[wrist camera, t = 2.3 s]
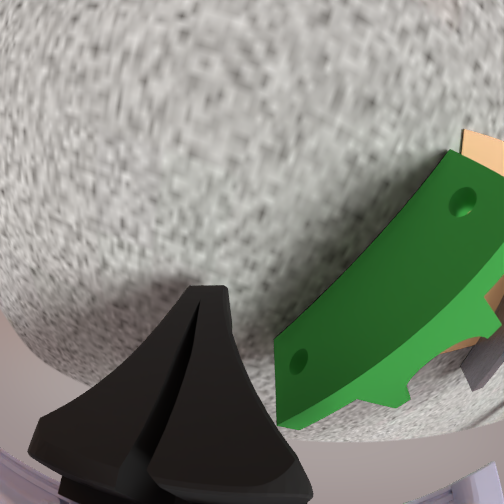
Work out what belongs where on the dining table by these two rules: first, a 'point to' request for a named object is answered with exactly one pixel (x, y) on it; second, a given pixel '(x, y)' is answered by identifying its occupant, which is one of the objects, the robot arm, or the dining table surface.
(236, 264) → the dining table surface
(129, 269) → the dining table surface
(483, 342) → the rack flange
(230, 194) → the dining table surface
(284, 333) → the pipe clamp
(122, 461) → the robot arm
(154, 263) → the dining table surface
